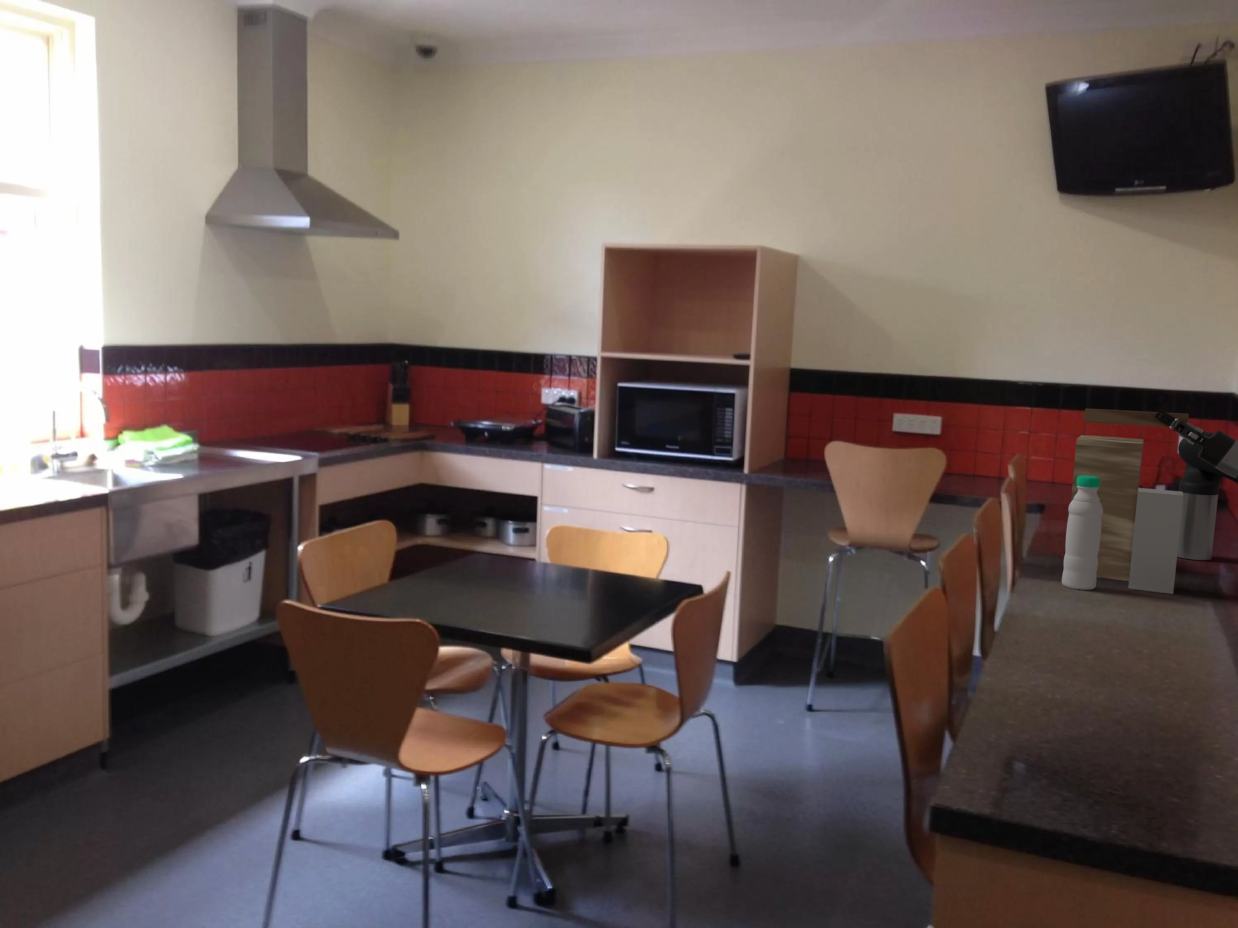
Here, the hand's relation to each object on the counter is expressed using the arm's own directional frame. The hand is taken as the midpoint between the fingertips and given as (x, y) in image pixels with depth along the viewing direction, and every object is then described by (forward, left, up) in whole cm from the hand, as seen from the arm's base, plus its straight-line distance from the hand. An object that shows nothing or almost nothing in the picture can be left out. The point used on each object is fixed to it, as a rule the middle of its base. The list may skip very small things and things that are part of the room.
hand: (1157, 413), depth 253 cm
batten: (0, -5, -3) cm, 5 cm away
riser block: (+14, +2, -39) cm, 41 cm away
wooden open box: (0, -9, -39) cm, 40 cm away
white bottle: (+24, -12, -39) cm, 48 cm away
